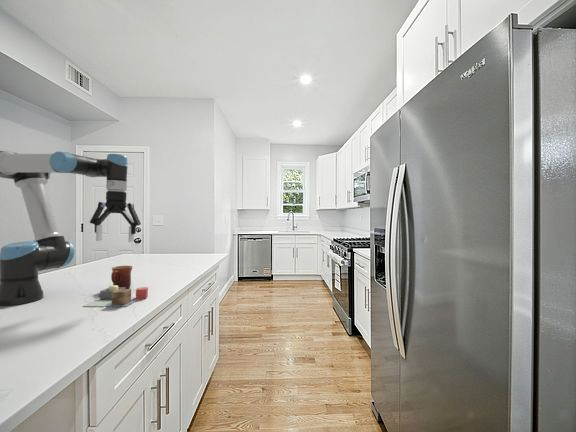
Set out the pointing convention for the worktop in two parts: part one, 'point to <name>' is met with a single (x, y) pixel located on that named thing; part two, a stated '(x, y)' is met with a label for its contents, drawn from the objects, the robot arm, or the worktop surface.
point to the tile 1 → (98, 303)
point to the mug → (121, 276)
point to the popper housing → (107, 294)
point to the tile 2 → (120, 305)
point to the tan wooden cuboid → (121, 297)
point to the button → (113, 288)
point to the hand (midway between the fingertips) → (114, 241)
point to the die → (142, 293)
